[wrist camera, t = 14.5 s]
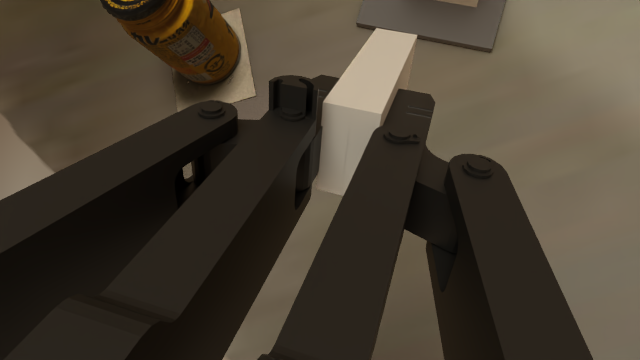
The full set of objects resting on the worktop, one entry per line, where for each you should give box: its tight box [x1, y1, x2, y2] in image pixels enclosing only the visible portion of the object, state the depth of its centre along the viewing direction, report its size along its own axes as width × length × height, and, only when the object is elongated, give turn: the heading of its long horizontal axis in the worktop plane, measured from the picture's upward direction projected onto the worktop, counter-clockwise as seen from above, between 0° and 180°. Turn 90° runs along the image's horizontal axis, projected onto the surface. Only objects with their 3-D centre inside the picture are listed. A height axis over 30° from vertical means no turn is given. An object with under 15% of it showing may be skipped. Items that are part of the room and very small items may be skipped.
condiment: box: [100, 0, 256, 112], centre depth 35 cm, size 7×8×12 cm
